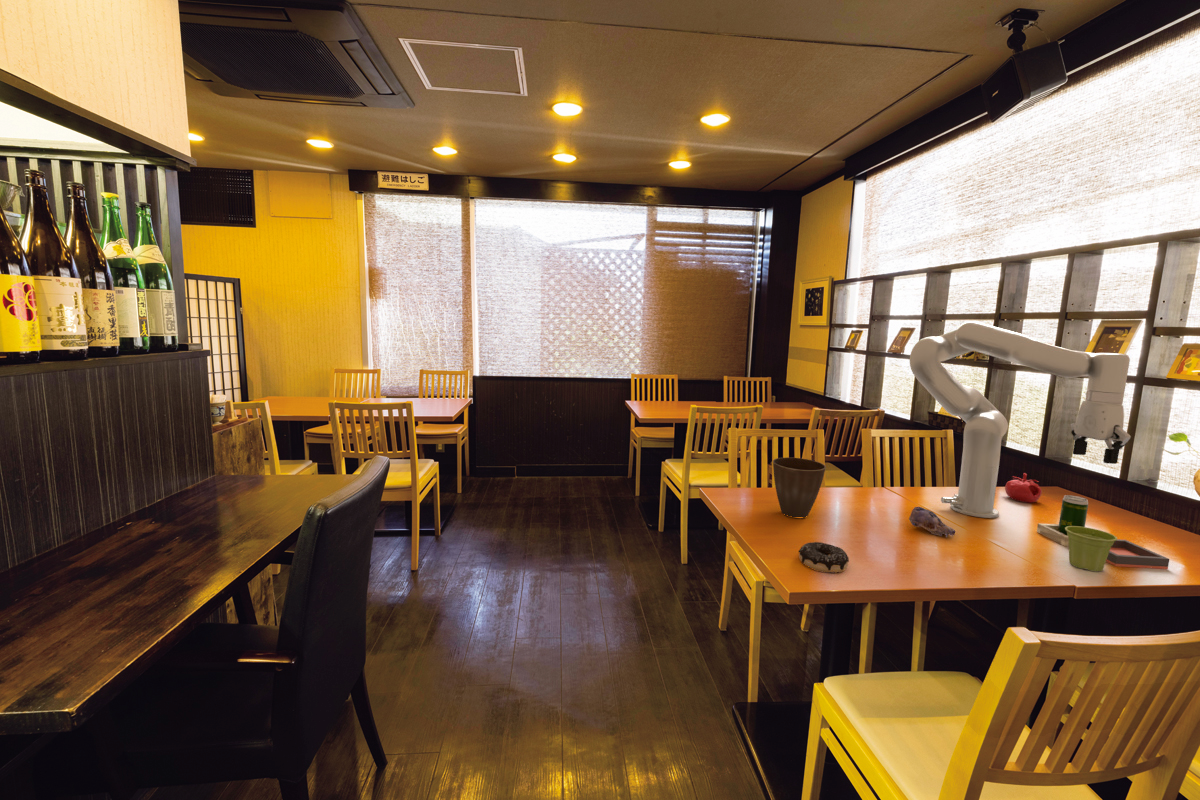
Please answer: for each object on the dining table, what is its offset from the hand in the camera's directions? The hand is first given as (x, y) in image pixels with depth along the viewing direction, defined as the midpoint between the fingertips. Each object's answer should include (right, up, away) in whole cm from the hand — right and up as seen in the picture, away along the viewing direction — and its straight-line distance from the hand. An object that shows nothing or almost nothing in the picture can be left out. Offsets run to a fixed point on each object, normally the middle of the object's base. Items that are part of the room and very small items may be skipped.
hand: (1094, 458), depth 149 cm
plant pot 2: (-19, -25, -18) cm, 36 cm away
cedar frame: (-8, -22, -1) cm, 24 cm away
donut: (-84, -23, -21) cm, 90 cm away
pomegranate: (+7, -18, +35) cm, 40 cm away
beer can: (-8, -23, -1) cm, 24 cm away
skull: (-44, -21, +2) cm, 49 cm away
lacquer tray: (-4, -24, -12) cm, 27 cm away
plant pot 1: (-79, -19, +13) cm, 82 cm away
